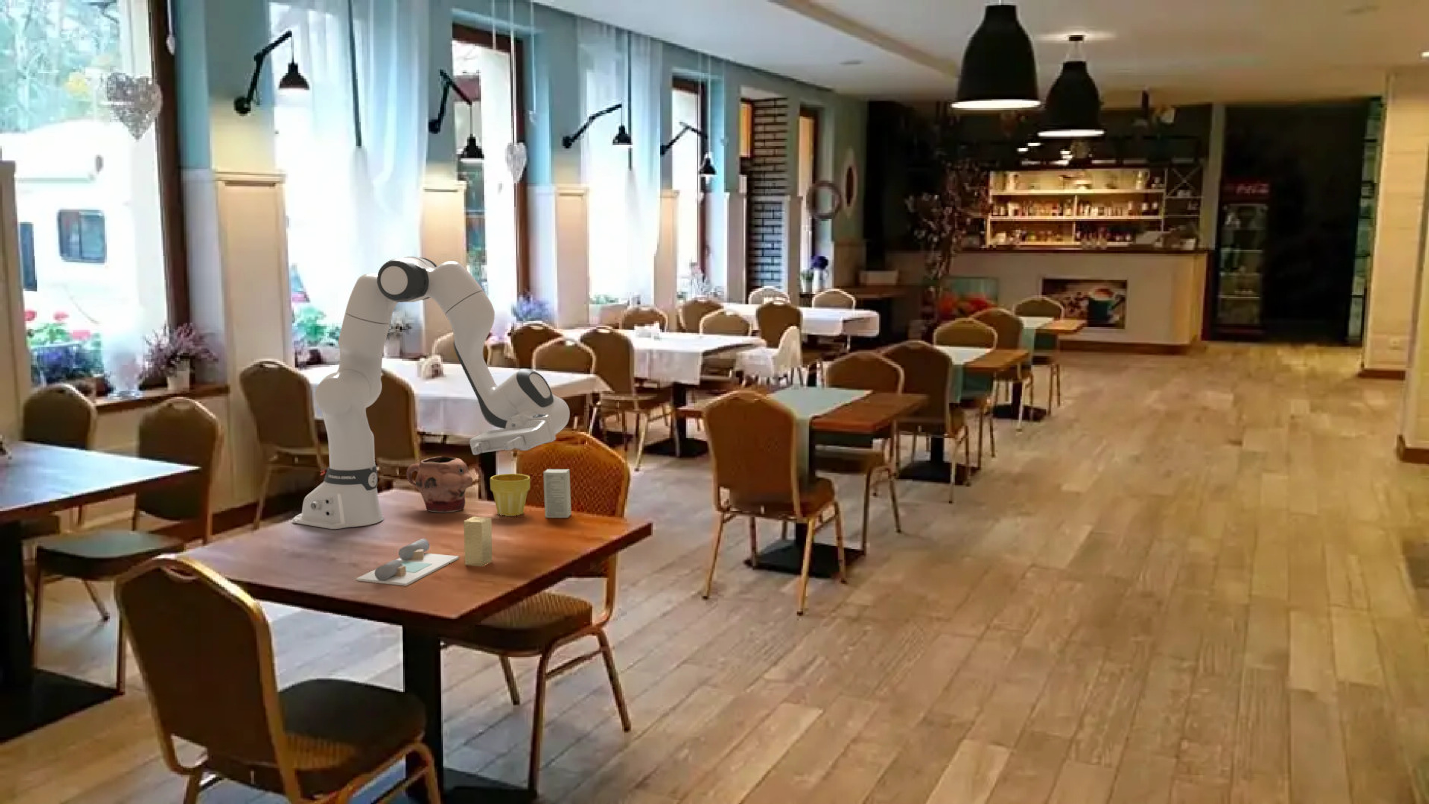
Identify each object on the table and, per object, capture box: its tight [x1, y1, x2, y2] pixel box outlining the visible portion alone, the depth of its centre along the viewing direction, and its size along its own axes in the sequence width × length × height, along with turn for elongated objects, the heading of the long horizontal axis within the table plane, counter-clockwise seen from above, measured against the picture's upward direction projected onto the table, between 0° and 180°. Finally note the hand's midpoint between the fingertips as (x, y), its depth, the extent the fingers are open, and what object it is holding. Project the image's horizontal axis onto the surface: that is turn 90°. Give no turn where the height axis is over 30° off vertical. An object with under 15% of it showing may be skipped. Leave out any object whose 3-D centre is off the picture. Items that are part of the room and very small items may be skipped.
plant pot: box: [489, 473, 531, 517], centre depth 309 cm, size 10×10×10 cm
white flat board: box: [356, 538, 460, 586], centre depth 258 cm, size 23×12×4 cm, turn 163°
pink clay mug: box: [405, 456, 474, 513], centre depth 313 cm, size 20×12×14 cm, turn 75°
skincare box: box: [542, 468, 572, 519], centre depth 306 cm, size 6×4×12 cm
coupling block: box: [463, 516, 493, 567], centre depth 262 cm, size 4×4×10 cm
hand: (490, 449), depth 272 cm, fingers open, 8 cm apart
